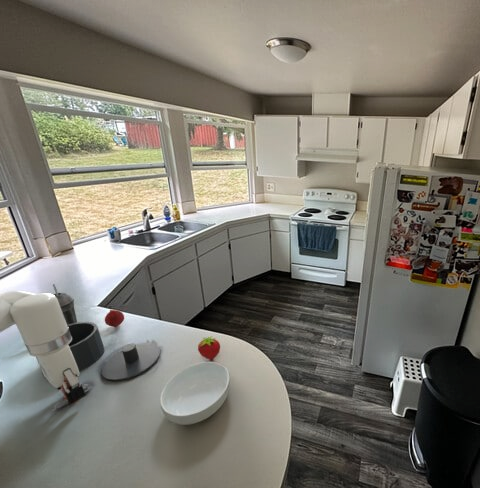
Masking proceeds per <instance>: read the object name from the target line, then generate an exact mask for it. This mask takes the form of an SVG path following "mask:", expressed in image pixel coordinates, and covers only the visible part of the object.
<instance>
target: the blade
mask: <svg viewBox="0 0 480 488" xmlns="http://www.w3.org/2000/svg"><path fill="white" fill-rule="evenodd" d="M66 380H67V379H66V378H65V379H64V381H66ZM66 385H67V387H69V386H70V384H69V382H68V383H66ZM81 385H82V387H83V390H84V392H85V394H86V393H87V392H89V391H91V390H92V389H93V388H92V386H91V385H90V384H88V383H83V384H81ZM60 387H61V389H60V390H61V392H62V394H63V396H64V398H63V399H61V400H60V401H59V402H58V403H56V404H55V405H54V406H53V409H54V410H55V411H57V410H59V409H61V408H62V407H64V406H66V405H72V404H75V403H77V402H78V401H79V400H77V401H76V402H74V403H72V404H70V403H69V402H68V399H67V397H66V395H65V392H66V391H65V389H64V387H63V385H62V386H60Z"/></svg>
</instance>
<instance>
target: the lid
mask: <svg viewBox="0 0 480 488" xmlns="http://www.w3.org/2000/svg"><path fill="white" fill-rule="evenodd" d="M160 356H161V348H160V347H159V345H157V344H155V343H153V342H141V343H136V344H135V343H127V344H126V345H124V346H123V347H122V348H121V349H120V350H119V351H117V352H115V353H114V354H112V355H111V356H110V357H109V358H108V359H107V360H106V361H105V362H104V363H103V365H102V367H101V371H100V372H101V376H102V377H103V378H104V379H105V380H108V381H113V382H116V381H117V382H118V381H125V380H128V379H131V378H133V377H136V376H138V375H140V374H142V373H144V372H146V371H147V370H149V369H150V368H151V367H152V366H153V365H155V363H157V361H158V360H159V358H160Z"/></svg>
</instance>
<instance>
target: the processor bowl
mask: <svg viewBox="0 0 480 488" xmlns="http://www.w3.org/2000/svg"><path fill="white" fill-rule="evenodd" d="M67 326H68V329H69V331H70V334H71V336H72V341H71V342H70V343H69V344H68V345H69V347H70V350H71V352H72V354H73V357H74V359H75V362H76V364H77V367H78V370H79V372H82V371H83V370H85V369H87V368H89V367H91V366H92V365H93V364H95V363H96V362H97V361H99V359H101V357H102V356H103V355H104V352H105V345H104V342H103V340H102V336H101V334H100V329H99V327H98V325H97V324H96V323H95V322H92V321H79V322H78V321H77V323H74V324H69V325H67ZM35 358H36V361H37V363H38V366H40V364H39V362H38V359H37V357H35ZM40 369H41V368H40ZM41 371H42V369H41Z"/></svg>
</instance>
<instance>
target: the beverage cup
mask: <svg viewBox="0 0 480 488" xmlns="http://www.w3.org/2000/svg"><path fill="white" fill-rule="evenodd" d="M52 287H53V290H54V292H55V293H54V294H53V295H54V296H55V297H56V298H57V300H58V302H59V305H60V308H61V310H62V313H63V315H64V318H65V321H66V323H67V325H69V324H74V323H78V319H77V314H76V310H75V302H74V301H75V299H74V298H73V296H72V295H71V294H68V293H67V292H58V290H57V287H56V284H55V283H53V284H52Z"/></svg>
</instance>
